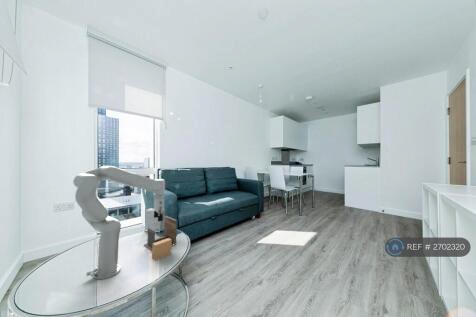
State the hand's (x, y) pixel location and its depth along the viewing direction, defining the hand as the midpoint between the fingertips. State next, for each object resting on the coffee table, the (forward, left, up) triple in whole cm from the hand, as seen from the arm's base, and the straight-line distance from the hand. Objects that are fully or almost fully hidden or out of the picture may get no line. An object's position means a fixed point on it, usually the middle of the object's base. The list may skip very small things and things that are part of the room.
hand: (158, 219), depth 131 cm
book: (-1, -9, -23) cm, 25 cm away
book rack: (+6, +7, -23) cm, 25 cm away
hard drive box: (+17, +37, -23) cm, 46 cm away
